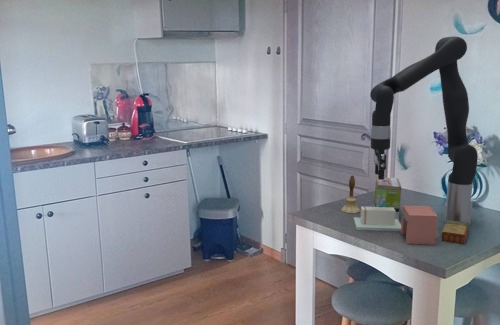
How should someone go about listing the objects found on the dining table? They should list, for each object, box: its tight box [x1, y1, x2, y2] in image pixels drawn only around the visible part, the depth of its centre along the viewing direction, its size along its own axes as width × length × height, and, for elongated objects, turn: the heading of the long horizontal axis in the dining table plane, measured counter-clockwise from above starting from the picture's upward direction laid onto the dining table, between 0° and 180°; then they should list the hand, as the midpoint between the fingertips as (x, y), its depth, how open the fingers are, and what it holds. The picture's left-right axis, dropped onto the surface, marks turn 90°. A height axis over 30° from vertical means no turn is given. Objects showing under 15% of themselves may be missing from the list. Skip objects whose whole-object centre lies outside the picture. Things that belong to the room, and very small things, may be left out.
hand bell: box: [340, 175, 361, 214], centre depth 222 cm, size 8×8×16 cm
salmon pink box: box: [400, 204, 439, 246], centre depth 189 cm, size 10×12×11 cm
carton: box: [440, 220, 470, 245], centre depth 193 cm, size 8×16×4 cm, turn 152°
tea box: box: [373, 176, 402, 220], centre depth 218 cm, size 15×10×15 cm
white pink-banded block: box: [359, 206, 396, 225], centre depth 204 cm, size 13×4×6 cm, turn 84°
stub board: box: [353, 217, 402, 232], centre depth 204 cm, size 18×12×1 cm, turn 84°
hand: (379, 176), depth 201 cm, fingers open, 8 cm apart
